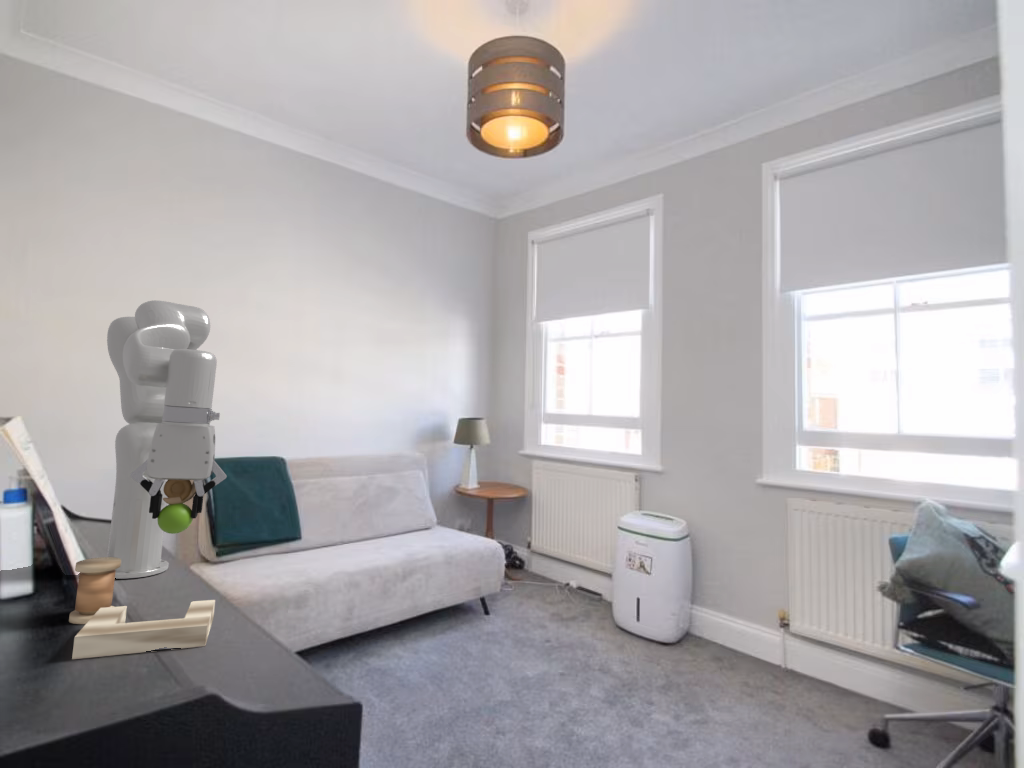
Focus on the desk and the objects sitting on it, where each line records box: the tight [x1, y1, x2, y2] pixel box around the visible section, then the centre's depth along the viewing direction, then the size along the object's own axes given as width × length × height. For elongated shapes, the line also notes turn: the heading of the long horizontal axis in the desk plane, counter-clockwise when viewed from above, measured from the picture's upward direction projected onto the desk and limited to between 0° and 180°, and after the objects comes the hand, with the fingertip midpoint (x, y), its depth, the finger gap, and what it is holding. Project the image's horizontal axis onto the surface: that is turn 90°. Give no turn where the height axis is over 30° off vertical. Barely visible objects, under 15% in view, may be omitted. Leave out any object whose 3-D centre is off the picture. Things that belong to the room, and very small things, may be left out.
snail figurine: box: [157, 480, 196, 535], centre depth 96 cm, size 5×6×12 cm
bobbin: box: [68, 556, 121, 625], centre depth 88 cm, size 6×6×9 cm
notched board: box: [71, 599, 216, 660], centre depth 82 cm, size 12×16×3 cm
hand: (175, 516), depth 96 cm, fingers closed on snail figurine, 5 cm apart
